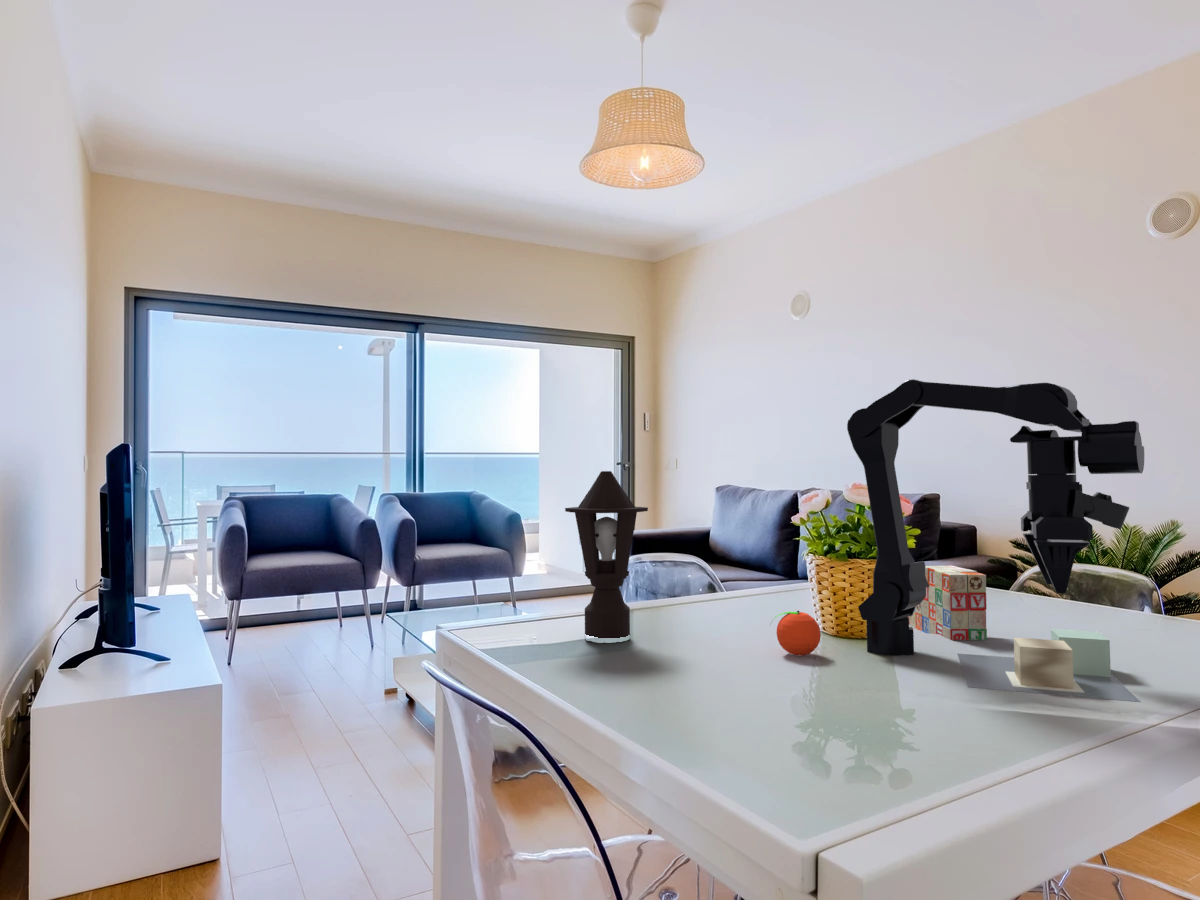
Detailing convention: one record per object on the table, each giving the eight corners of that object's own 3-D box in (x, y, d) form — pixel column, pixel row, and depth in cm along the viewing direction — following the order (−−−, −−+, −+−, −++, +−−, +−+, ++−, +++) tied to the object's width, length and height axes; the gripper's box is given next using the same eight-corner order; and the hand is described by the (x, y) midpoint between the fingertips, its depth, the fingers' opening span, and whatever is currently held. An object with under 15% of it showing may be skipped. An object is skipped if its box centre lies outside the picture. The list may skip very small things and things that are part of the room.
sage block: (1060, 673, 105) (1058, 637, 105) (1052, 663, 110) (1051, 628, 111) (1110, 677, 103) (1109, 640, 103) (1100, 666, 108) (1098, 631, 108)
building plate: (967, 694, 98) (967, 686, 98) (957, 659, 117) (957, 652, 117) (1141, 710, 91) (1141, 701, 91) (1101, 670, 110) (1100, 663, 110)
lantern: (563, 631, 141) (562, 471, 142) (641, 629, 143) (639, 471, 144) (569, 649, 126) (567, 471, 127) (655, 646, 128) (653, 470, 129)
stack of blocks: (902, 622, 148) (901, 559, 148) (934, 622, 148) (933, 559, 148) (950, 646, 127) (949, 573, 127) (988, 646, 126) (986, 573, 127)
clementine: (767, 658, 119) (767, 613, 119) (772, 648, 126) (771, 605, 126) (820, 661, 117) (819, 615, 117) (822, 651, 123) (821, 608, 123)
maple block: (1020, 684, 99) (1019, 646, 99) (1014, 673, 104) (1013, 637, 104) (1073, 689, 96) (1072, 650, 97) (1064, 677, 102) (1063, 640, 102)
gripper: (1139, 473, 92) (1144, 602, 91) (1106, 474, 109) (1110, 582, 108) (1034, 474, 96) (1039, 597, 96) (1018, 475, 113) (1022, 579, 113)
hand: (1055, 588), depth 103 cm, fingers open, 9 cm apart
